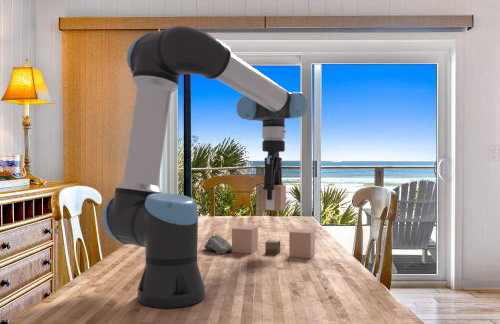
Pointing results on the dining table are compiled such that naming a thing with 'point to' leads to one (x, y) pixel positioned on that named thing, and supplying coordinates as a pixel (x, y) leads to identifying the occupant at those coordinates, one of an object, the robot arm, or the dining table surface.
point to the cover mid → (278, 198)
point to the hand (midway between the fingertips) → (273, 208)
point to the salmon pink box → (301, 243)
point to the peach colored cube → (244, 239)
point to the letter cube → (272, 247)
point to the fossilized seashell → (218, 245)
